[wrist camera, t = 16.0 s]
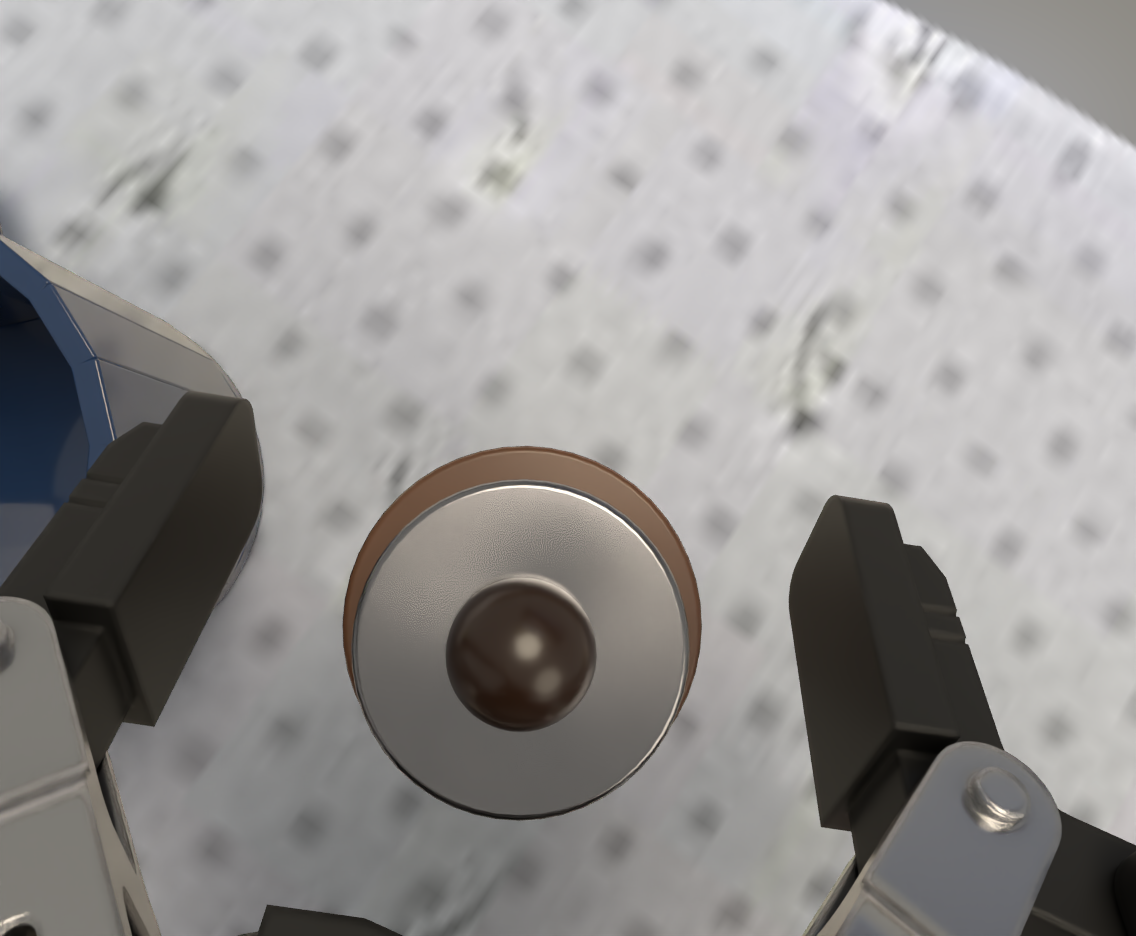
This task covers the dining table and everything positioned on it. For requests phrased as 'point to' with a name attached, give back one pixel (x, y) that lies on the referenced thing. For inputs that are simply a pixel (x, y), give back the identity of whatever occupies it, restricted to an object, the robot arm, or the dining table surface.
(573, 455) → the pepper mill
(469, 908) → the dining table surface
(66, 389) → the navy blue mug
